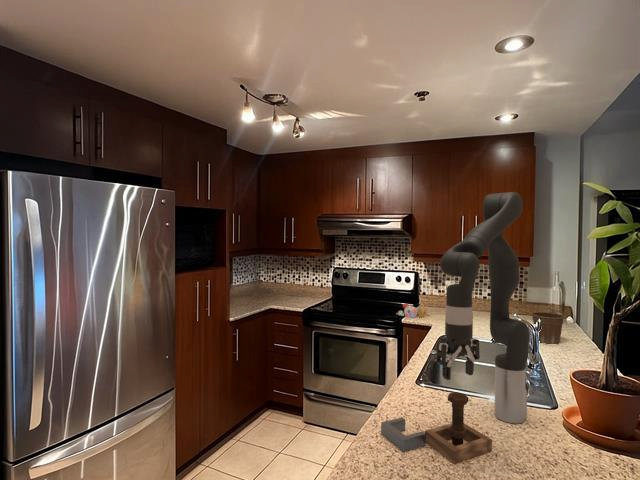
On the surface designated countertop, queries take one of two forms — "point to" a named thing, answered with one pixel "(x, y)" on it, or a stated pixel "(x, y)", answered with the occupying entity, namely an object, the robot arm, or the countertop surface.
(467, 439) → the square frame block
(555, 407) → the countertop surface
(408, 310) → the pastel sphere sculpture
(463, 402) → the bolt
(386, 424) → the block
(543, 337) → the plant pot
